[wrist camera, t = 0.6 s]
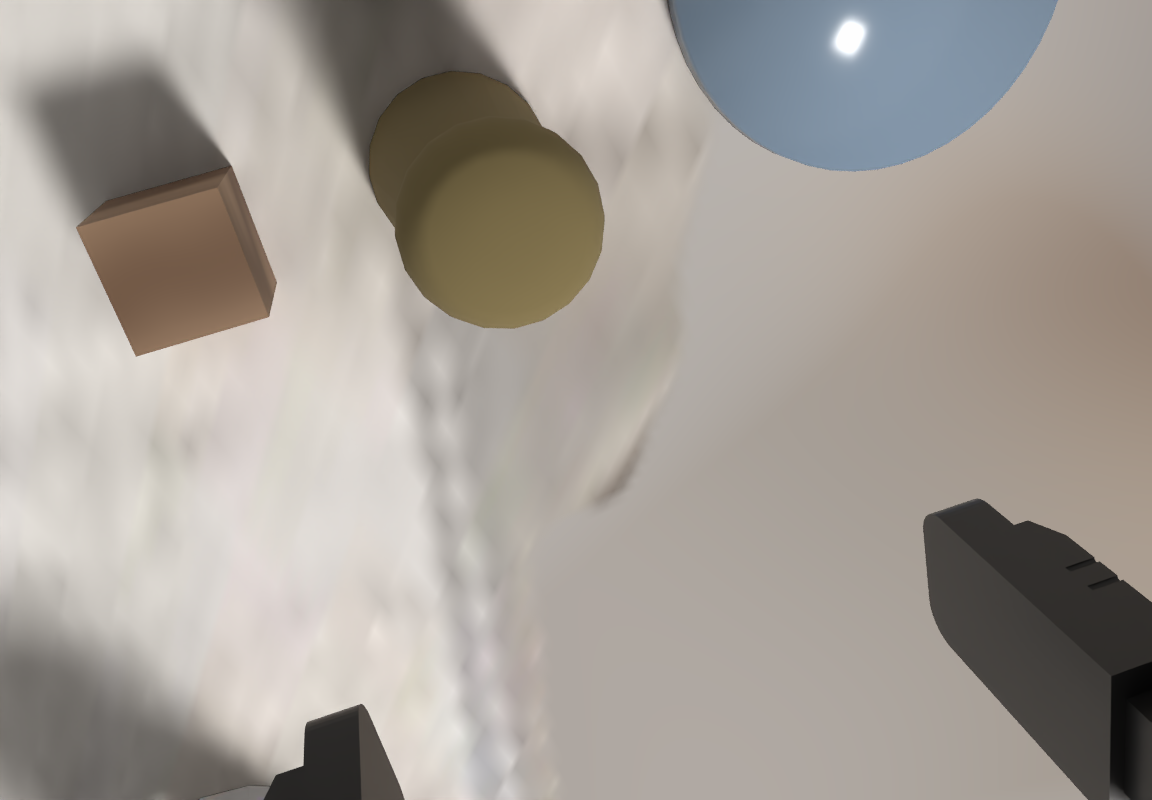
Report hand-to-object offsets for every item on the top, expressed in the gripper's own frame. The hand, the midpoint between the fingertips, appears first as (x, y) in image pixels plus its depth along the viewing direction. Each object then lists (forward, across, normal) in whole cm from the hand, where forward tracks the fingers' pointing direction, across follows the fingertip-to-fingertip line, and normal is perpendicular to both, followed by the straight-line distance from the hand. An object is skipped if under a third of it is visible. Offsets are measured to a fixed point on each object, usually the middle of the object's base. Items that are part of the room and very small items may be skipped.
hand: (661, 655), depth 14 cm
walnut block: (+23, +8, -2) cm, 25 cm away
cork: (+23, -1, -2) cm, 23 cm away
